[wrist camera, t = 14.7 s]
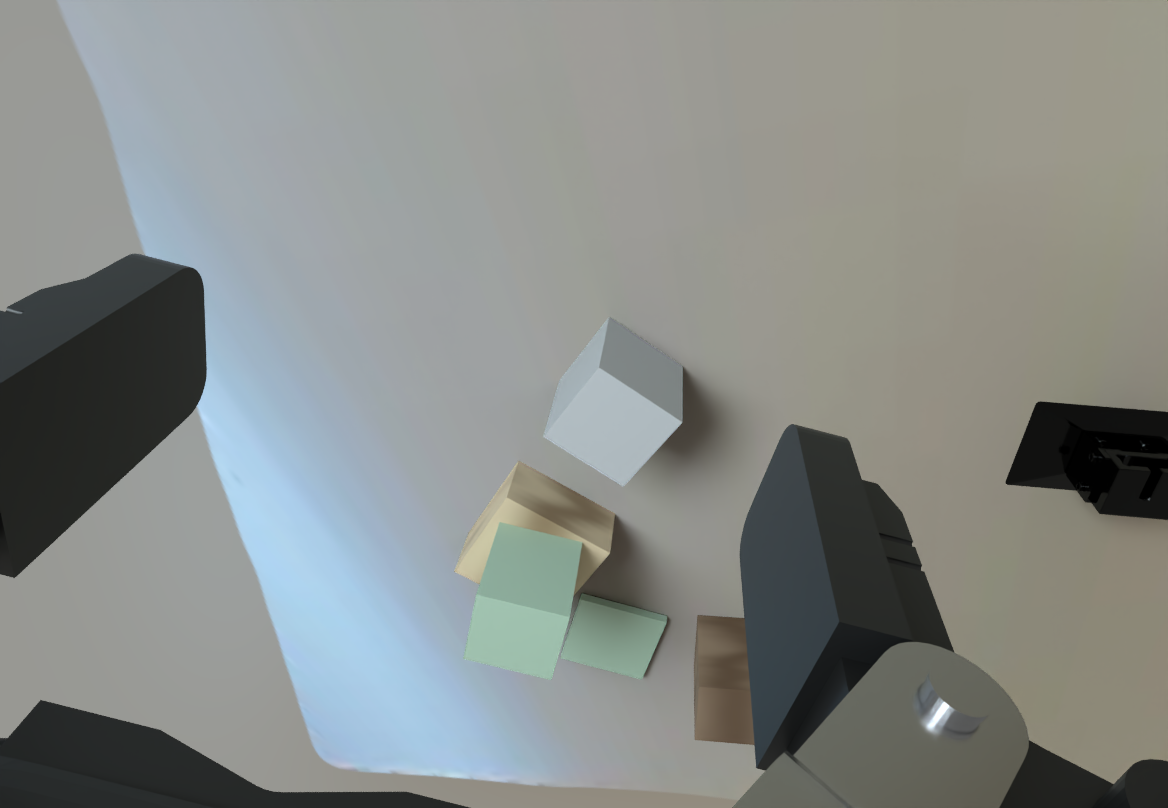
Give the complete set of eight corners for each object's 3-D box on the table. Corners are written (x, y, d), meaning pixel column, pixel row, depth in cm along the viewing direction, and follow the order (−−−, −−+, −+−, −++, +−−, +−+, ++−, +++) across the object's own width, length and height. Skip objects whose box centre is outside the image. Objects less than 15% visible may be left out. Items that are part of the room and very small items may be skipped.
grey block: (682, 365, 43) (682, 422, 38) (630, 425, 46) (623, 486, 41) (609, 315, 42) (598, 367, 37) (559, 380, 45) (543, 436, 40)
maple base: (615, 511, 49) (610, 553, 46) (560, 577, 53) (551, 621, 49) (519, 458, 48) (506, 497, 45) (469, 529, 51) (454, 571, 48)
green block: (582, 542, 46) (569, 617, 41) (565, 602, 48) (551, 680, 43) (499, 521, 46) (476, 594, 40) (486, 583, 48) (463, 658, 43)
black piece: (1252, 400, 41) (1312, 448, 37) (1193, 509, 45) (1241, 563, 41) (1009, 381, 42) (1042, 426, 38) (970, 489, 46) (997, 540, 42)
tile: (666, 615, 53) (666, 622, 52) (642, 672, 56) (641, 679, 56) (581, 593, 53) (580, 599, 52) (561, 651, 56) (560, 658, 55)
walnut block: (773, 619, 52) (782, 693, 47) (765, 671, 55) (774, 746, 50) (697, 614, 53) (698, 686, 48) (693, 666, 55) (694, 739, 50)
